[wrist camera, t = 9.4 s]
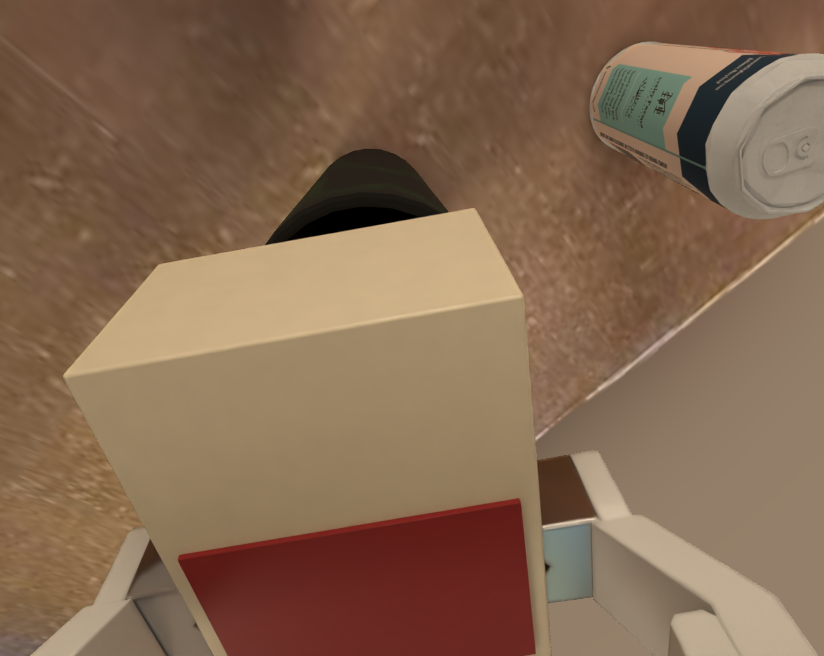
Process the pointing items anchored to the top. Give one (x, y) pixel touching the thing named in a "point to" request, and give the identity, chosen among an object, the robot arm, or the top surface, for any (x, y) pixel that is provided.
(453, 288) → the packet
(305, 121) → the top surface
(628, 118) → the beer can
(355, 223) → the cup
